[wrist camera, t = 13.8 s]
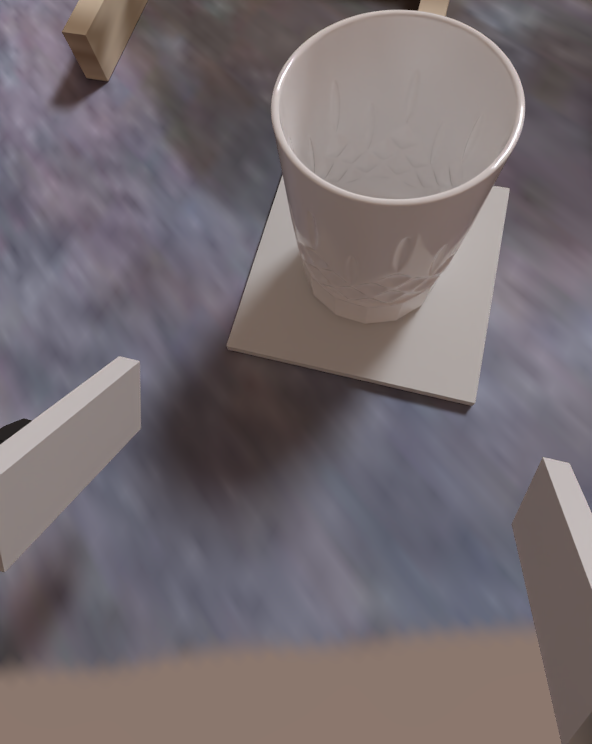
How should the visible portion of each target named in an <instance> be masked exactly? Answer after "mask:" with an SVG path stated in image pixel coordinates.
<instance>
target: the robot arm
mask: <svg viewBox="0 0 592 744" xmlns="http://www.w3.org/2000/svg"><path fill="white" fill-rule="evenodd" d="M140 429H141V398H140V361H137V360H132V359H128V358H124V357H120V356H119V357H118V358H116V359H115V360H113V361H112V362H111V363H109V364H108V365H107V366H105V367H104V368H103V369H101V370H100V371H99V372H97V373H96V374H95V375H93V376H92V377H91V378H89V379H88V380H87V381H85V382H84V383H83V384H81V385H80V386H78V387H77V388H76V389H74V390H73V391H72V392H70V393H69V394H68V395H66V396H65V397H64V398H62V399H61V400H60V401H58V402H57V403H56V404H54V405H53V406H52V407H50V408H49V409H47V410H46V411H45V412H43V413H42V414H41V415H39V416H38V417H37V418H35V419H34V420H33V421H31V420H28V419H21V420H19V421H16V422H13V423H11V424H8V425H6V426H4V427H2V428H1V429H0V571H2V572H6V571H7V569H8V568H9V567H10V566H11V565H12V564H13V563H14V562H15V561H16V560H17V559H18V558H19V557H20V556H21V555H22V554H23V553H24V551H25V550H26V549H27V548H28V547H29V546H30V545H31V544H32V543H33V542H34V541H35V540H36V539H37V538H38V537H39V536H40V535H41V534H42V532H43V531H44V530H45V529H46V528H47V527H48V526H49V525H50V524H51V523H52V522H53V521H54V520H55V519H56V518H57V517H58V516H59V515H60V513H61V512H62V511H63V510H64V509H65V508H66V507H67V506H68V505H69V504H70V503H71V502H72V501H73V500H74V499H75V498H76V497H77V495H78V494H79V493H80V492H81V491H82V490H83V489H84V488H85V487H86V486H87V485H88V484H89V483H90V482H91V481H92V480H93V479H94V478H95V476H96V475H97V474H98V473H99V472H100V471H101V470H102V469H103V468H104V467H105V466H106V465H107V464H108V463H109V462H110V461H111V460H112V459H113V457H114V456H115V455H116V454H117V453H118V452H119V451H120V450H121V449H122V448H123V447H124V446H125V445H126V444H127V443H128V442H129V441H130V439H131V438H132V437H133V436H134V435H135V434H136V433H137V432H138V431H139V430H140ZM512 528H513V532H514V537H515V541H516V546H517V550H518V554H519V559H520V563H521V567H522V572H523V576H524V581H525V585H526V589H527V594H528V598H529V603H530V607H531V611H532V616H533V620H534V625H535V629H536V633H537V638H538V642H539V647H540V651H541V655H542V659H543V664H544V668H545V672H546V677H547V681H548V686H549V690H550V695H551V699H552V703H553V708H554V712H555V717H556V721H557V726H558V729H559V734H560V739H561V743H562V744H592V513H591V511H590V508H589V506H588V504H587V502H586V499H585V497H584V495H583V493H582V490H581V488H580V486H579V484H578V481H577V479H576V477H575V475H574V472H573V470H572V468H571V466H570V463H566V462H562V461H557V460H553V459H549V458H545V457H543V458H542V460H541V462H540V464H539V466H538V469H537V471H536V473H535V475H534V477H533V479H532V481H531V484H530V486H529V488H528V490H527V492H526V494H525V497H524V499H523V501H522V503H521V505H520V507H519V509H518V512H517V514H516V516H515V518H514V520H513V522H512Z"/></svg>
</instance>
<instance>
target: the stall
mask: <svg viewBox="0 0 592 744" xmlns="http://www.w3.org/2000/svg"><path fill="white" fill-rule="evenodd" d="M147 1H148V0H79V1H78V3H77V5H76V7H75V9H74V11H73V12H72V14H71V16H70V18H69V20H68V22H67V23H66V25H65V27H64V29H63V31H62V33H63V35H64V37H65V39H66V40H67V42H68V44H69V46H70V48H71V50H72V52H73V54H74V55H75V57H76V59H77V61H78V63H79V65H80V67H81V69H82V70H83V72H84V74H85V76H86V78H89V79H96V80H102V81H109V79H110V77H111V75H112V73H113V70H114V68H115V66H116V64H117V62H118V60H119V58H120V56H121V54H122V52H123V50H124V48H125V46H126V44H127V42H128V40H129V38H130V36H131V34H132V32H133V30H134V28H135V26H136V23H137V21H138V19H139V17H140V15H141V13H142V11H143V9H144V7H145V5H146V3H147ZM449 1H450V0H421V1H420V5H419V9H418V11H423V12H429V13H434V14H438V15H442V16H445V17H446V13H447V9H448V5H449Z"/></svg>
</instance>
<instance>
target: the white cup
mask: <svg viewBox="0 0 592 744" xmlns="http://www.w3.org/2000/svg"><path fill="white" fill-rule="evenodd" d="M524 117H525V98H524V92H523V88H522V84H521V81H520V79H519V76H518V74H517V72H516V70H515V68H514V66H513V65H512V63H511V62H510V60H509V59H508V58H507V56H506V55H505V54H504V53H503V51H502V50H501V49H500V48H499V47H498V46H497V45H496V44H495V43H493V42H492V41H491V40H490V39H489V38H487V37H486V36H485V35H483V34H482V33H480V32H479V31H477V30H475V29H473V28H472V27H470V26H468V25H466V24H464V23H461V22H459V21H457V20H454V19H451V18H448V17H445V16H442V15H438V14H434V13H429V12H423V11H415V10H384V11H375V12H369V13H364V14H360V15H356V16H353V17H350V18H347V19H344V20H341V21H339V22H337V23H334V24H332V25H330V26H328V27H326V28H324V29H323V30H321V31H319V32H318V33H316V34H315V35H313V36H312V37H310V38H309V39H308V40H307V41H305V42H304V43H303V44H302V45H301V46H300V47H299V48H298V49H297V50H296V51H295V52H294V53H293V54H292V55H291V57H290V58H289V59H288V60H287V62H286V63H285V65H284V66H283V68H282V70H281V72H280V74H279V76H278V78H277V80H276V83H275V86H274V90H273V94H272V101H271V118H272V125H273V129H274V134H275V139H276V144H277V149H278V154H279V159H280V164H281V169H282V174H283V179H284V185H285V190H286V195H287V200H288V205H289V211H290V216H291V220H292V224H293V228H294V232H295V236H296V240H297V245H298V249H299V252H300V255H301V257H302V261H303V267H304V271H305V274H306V276H307V279H308V281H309V284H310V287H311V289H312V292H313V295H314V296H315V297H316V298H317V299H318V300H319V301H321V302H322V303H323V304H324V305H325V306H326V307H327V308H328V309H330V310H331V311H332V312H333V313H334V314H335V315H337V316H341V317H344V318H347V319H350V320H354V321H357V322H360V323H363V324H370V323H379V322H388V321H396V320H398V319H400V318H401V317H403V316H405V315H406V314H408V313H410V312H411V311H413V310H415V309H416V308H418V307H420V306H421V305H422V304H423V303H424V301H425V300H426V298H427V297H428V295H429V293H430V292H431V290H432V289H433V287H434V286H435V284H436V282H437V281H438V279H439V277H440V275H441V273H442V272H444V271H445V270H446V269H447V267H448V266H449V264H450V262H451V260H452V258H453V256H454V255H455V254H456V252H457V251H458V249H459V247H460V245H461V243H462V241H463V239H464V238H465V236H466V235H467V233H468V232H469V230H470V228H471V226H472V225H473V223H474V221H475V219H476V217H477V215H478V213H479V211H480V210H481V208H482V206H483V204H484V202H485V200H486V198H487V197H488V195H489V193H490V191H491V189H492V187H493V185H494V184H495V182H496V180H497V178H498V176H499V174H500V173H501V171H502V169H503V167H504V165H505V163H506V162H507V160H508V158H509V156H510V154H511V152H512V151H513V149H514V147H515V145H516V143H517V141H518V139H519V136H520V134H521V131H522V127H523V123H524Z"/></svg>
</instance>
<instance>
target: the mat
mask: <svg viewBox="0 0 592 744" xmlns="http://www.w3.org/2000/svg"><path fill="white" fill-rule="evenodd" d="M509 190H510V189H509V188H503V187H497V186H493V187H492V189H491V191H490V193H489V195H488V197H487V198H486V200H485V202H484V204H483V206H482V208H481V210H480V211H479V213H478V215H477V217H476V219H475V221H474V223H473V225H472V226H471V228H470V230H469V232H468V233H467V235H466V236H465V238H464V239H463V241H462V243H461V245H460V247H459V249H458V251H457V252H456V254H455V255H454V256H453V258H452V260H451V262H450V264H449V266H448V267H447V269H446V270H445V271H444V272H442V273H441V275H440V277H439V279H438V281H437V282H436V284H435V286H434V287H433V289H432V290H431V292H430V293H429V295H428V297H427V298H426V300H425V301H424V303H423V304H422V305H421V306H420V307H418V308H416V309H415V310H413V311H411V312H410V313H408V314H406V315H405V316H403V317H401V318H400V319H398V320H396V321H388V322H379V323H370V324H363V323H360V322H357V321H354V320H350V319H347V318H344V317H341V316H337V315H335V314H334V313H333V312H332V311H331V310H330V309H328V308H327V307H326V306H325V305H324V304H323V303H322V302H321V301H319V300H318V299H317V298H316V297H315V296H314V295H313V292H312V289H311V287H310V284H309V281H308V279H307V276H306V274H305V271H304V267H303V261H302V257H301V255H300V252H299V249H298V245H297V240H296V236H295V232H294V228H293V224H292V220H291V216H290V211H289V205H288V200H287V195H286V190H285V185H284V179H283V175H282V178H281V181H280V184H279V187H278V190H277V193H276V196H275V199H274V202H273V205H272V208H271V211H270V215H269V218H268V221H267V224H266V227H265V230H264V233H263V236H262V239H261V242H260V245H259V248H258V251H257V254H256V257H255V260H254V263H253V266H252V269H251V272H250V275H249V278H248V281H247V285H246V288H245V291H244V294H243V297H242V300H241V303H240V306H239V309H238V312H237V315H236V318H235V321H234V324H233V327H232V330H231V333H230V336H229V339H228V342H227V345H226V346H227V348H228V350H232V351H237V352H241V353H245V354H250V355H254V356H258V357H263V358H267V359H271V360H276V361H280V362H284V363H289V364H293V365H297V366H302V367H306V368H310V369H315V370H319V371H323V372H328V373H332V374H336V375H340V376H345V377H349V378H353V379H358V380H362V381H366V382H371V383H375V384H379V385H384V386H388V387H392V388H397V389H401V390H405V391H410V392H414V393H418V394H423V395H427V396H431V397H436V398H440V399H444V400H449V401H453V402H457V403H461V404H466V405H470V406H473V405H474V404H475V401H476V394H477V388H478V382H479V376H480V370H481V363H482V357H483V351H484V345H485V339H486V332H487V326H488V320H489V314H490V308H491V301H492V295H493V289H494V283H495V277H496V270H497V264H498V258H499V252H500V246H501V239H502V233H503V227H504V221H505V215H506V208H507V202H508V196H509Z"/></svg>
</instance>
